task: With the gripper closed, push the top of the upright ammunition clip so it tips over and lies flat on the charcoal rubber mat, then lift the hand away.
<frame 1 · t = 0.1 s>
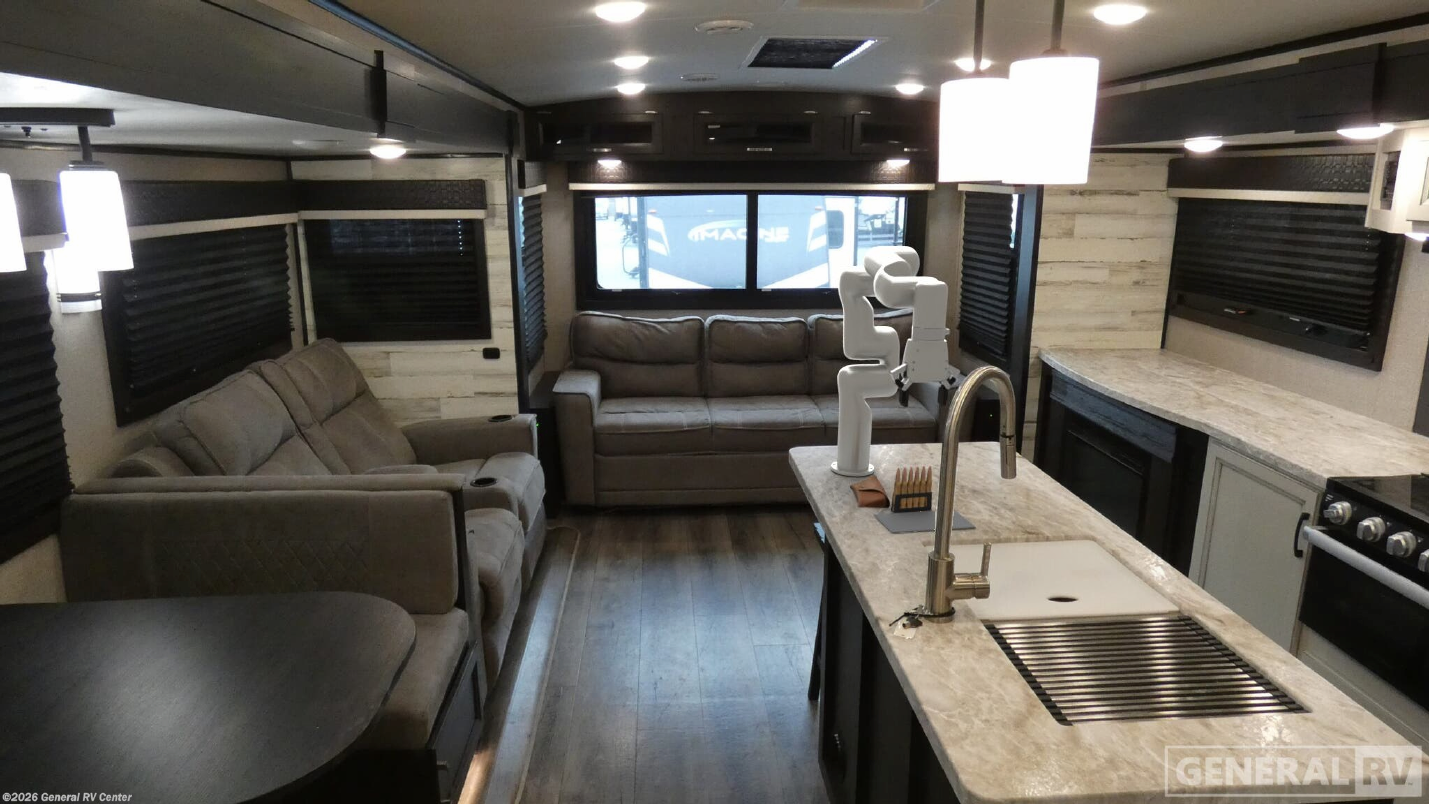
hand: (922, 405, 213), 31 cm above the table, tool pointing down, fingers open, 9 cm apart
ammunition clip: (911, 511, 232), on the table
sunglasses case: (868, 498, 242), on the table
rubber mat: (923, 522, 224), on the table
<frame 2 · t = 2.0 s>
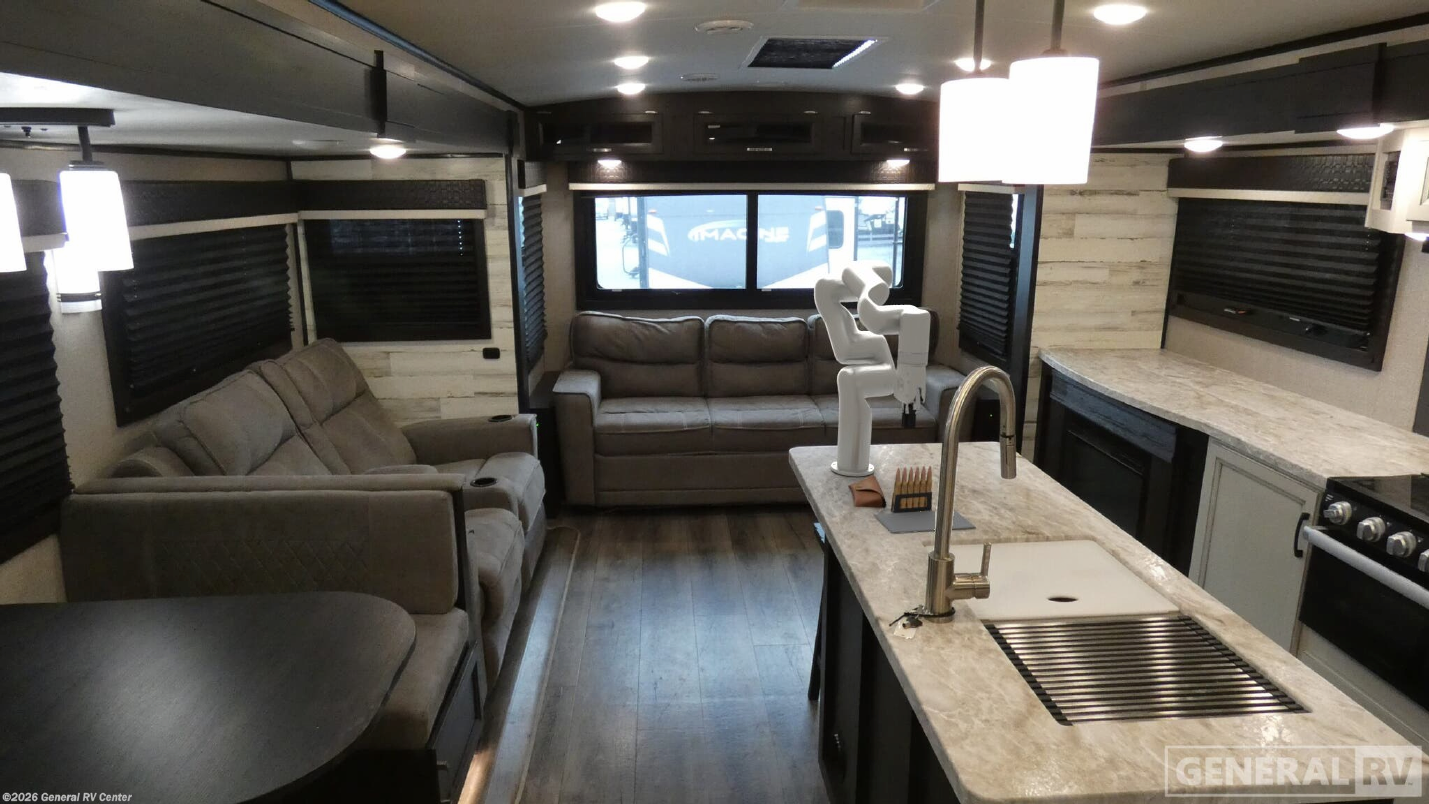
hand: (908, 427, 232), 21 cm above the table, tool pointing down, fingers closed
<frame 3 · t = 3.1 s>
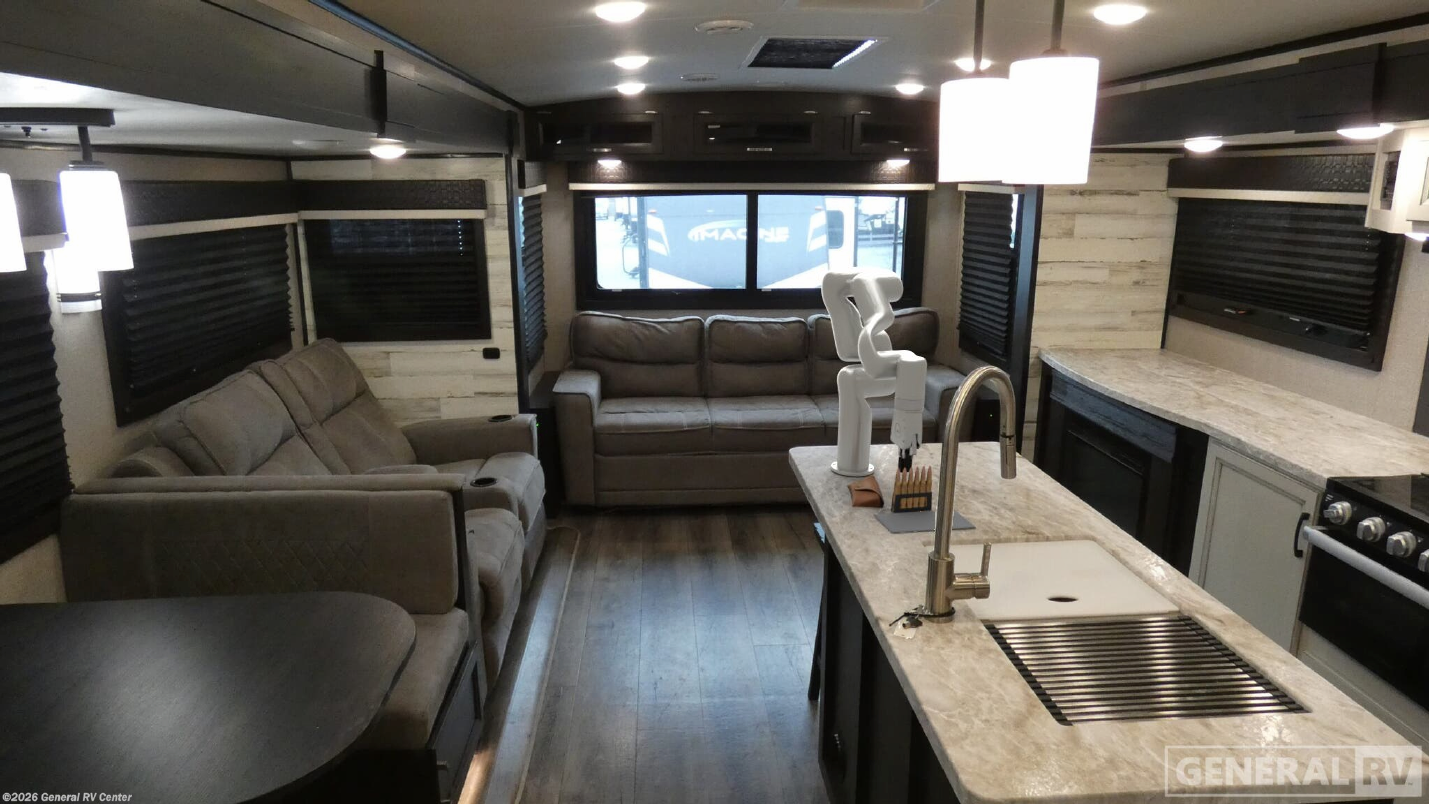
hand: (904, 471, 236), 9 cm above the table, tool pointing down, fingers closed
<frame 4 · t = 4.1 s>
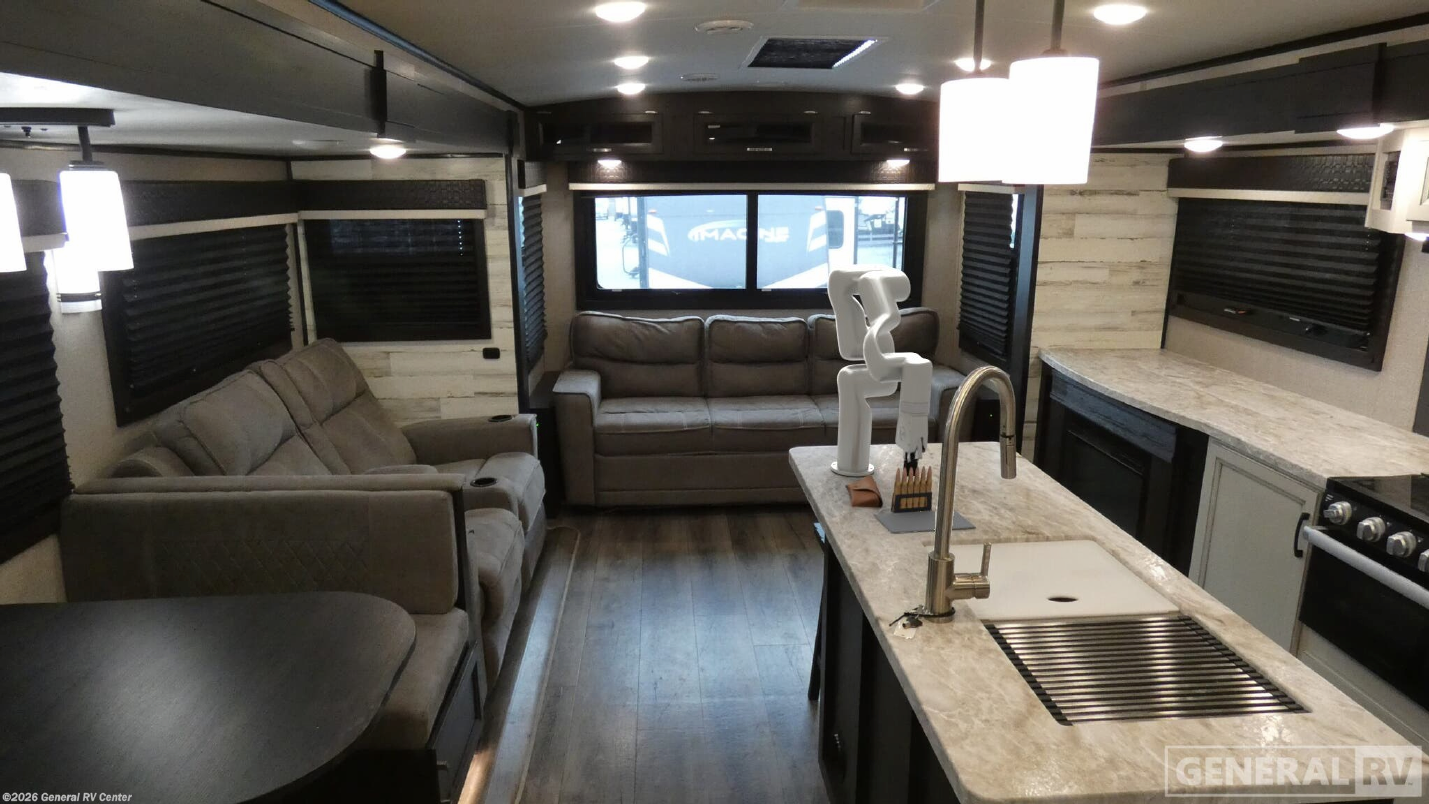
hand: (909, 475, 232), 9 cm above the table, tool pointing down, fingers closed
ammunition clip: (911, 511, 232), on the table, touching gripper
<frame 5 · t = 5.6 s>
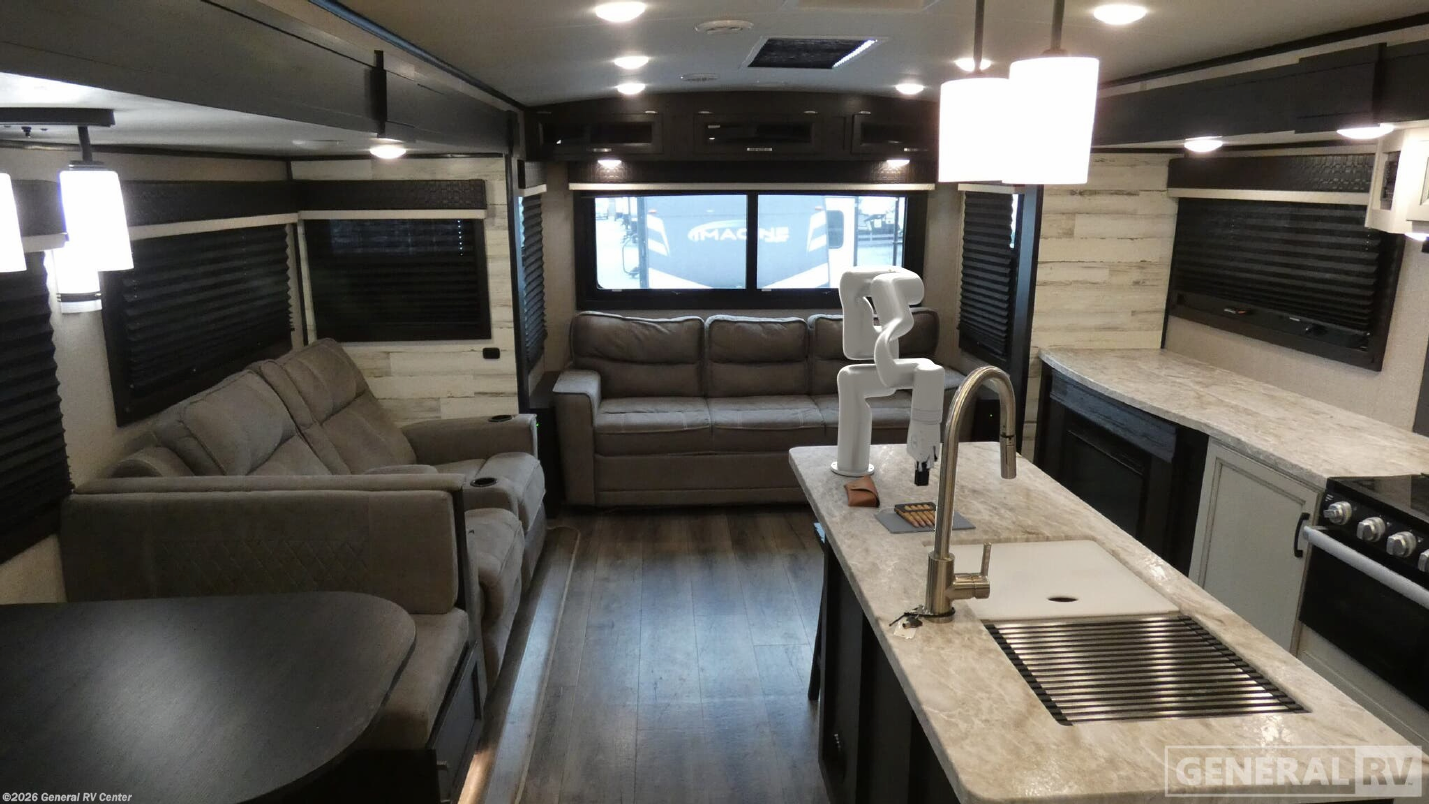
hand: (921, 484, 225), 9 cm above the table, tool pointing down, fingers closed
ammunition clip: (913, 506, 231), point 2 cm above the table, touching rubber mat
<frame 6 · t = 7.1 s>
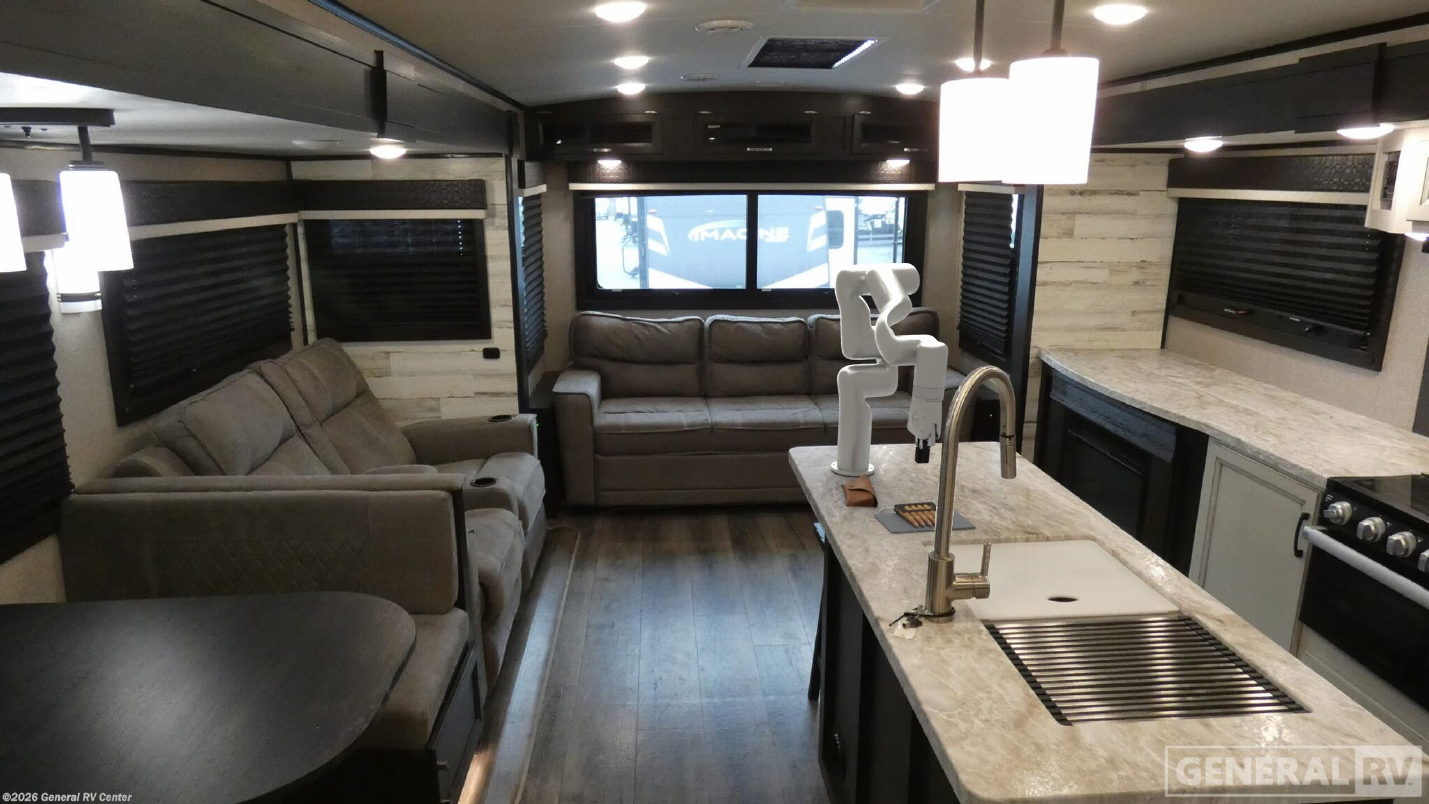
hand: (921, 462, 225), 14 cm above the table, tool pointing down, fingers closed
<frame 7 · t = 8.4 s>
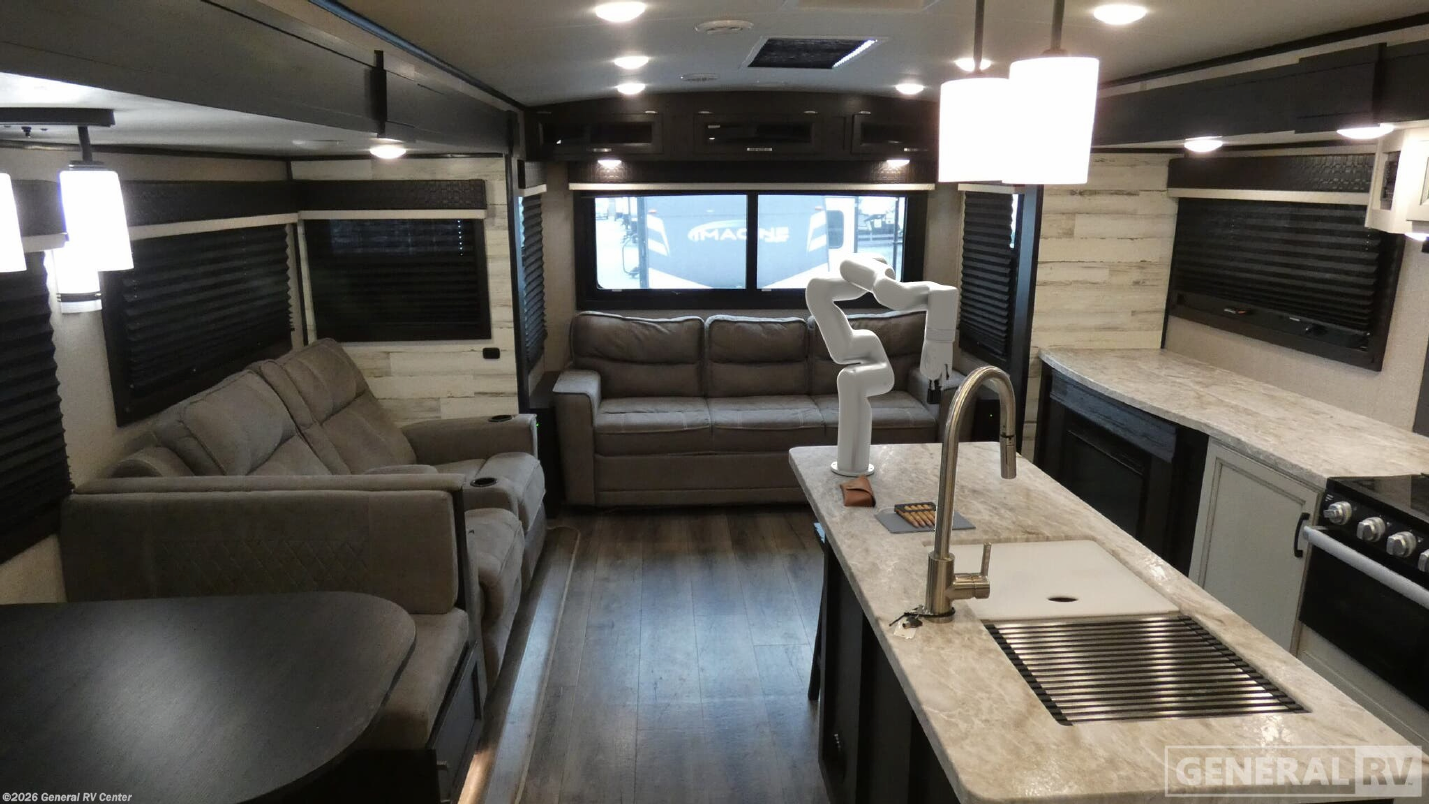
hand: (933, 403, 234), 27 cm above the table, tool pointing down, fingers closed
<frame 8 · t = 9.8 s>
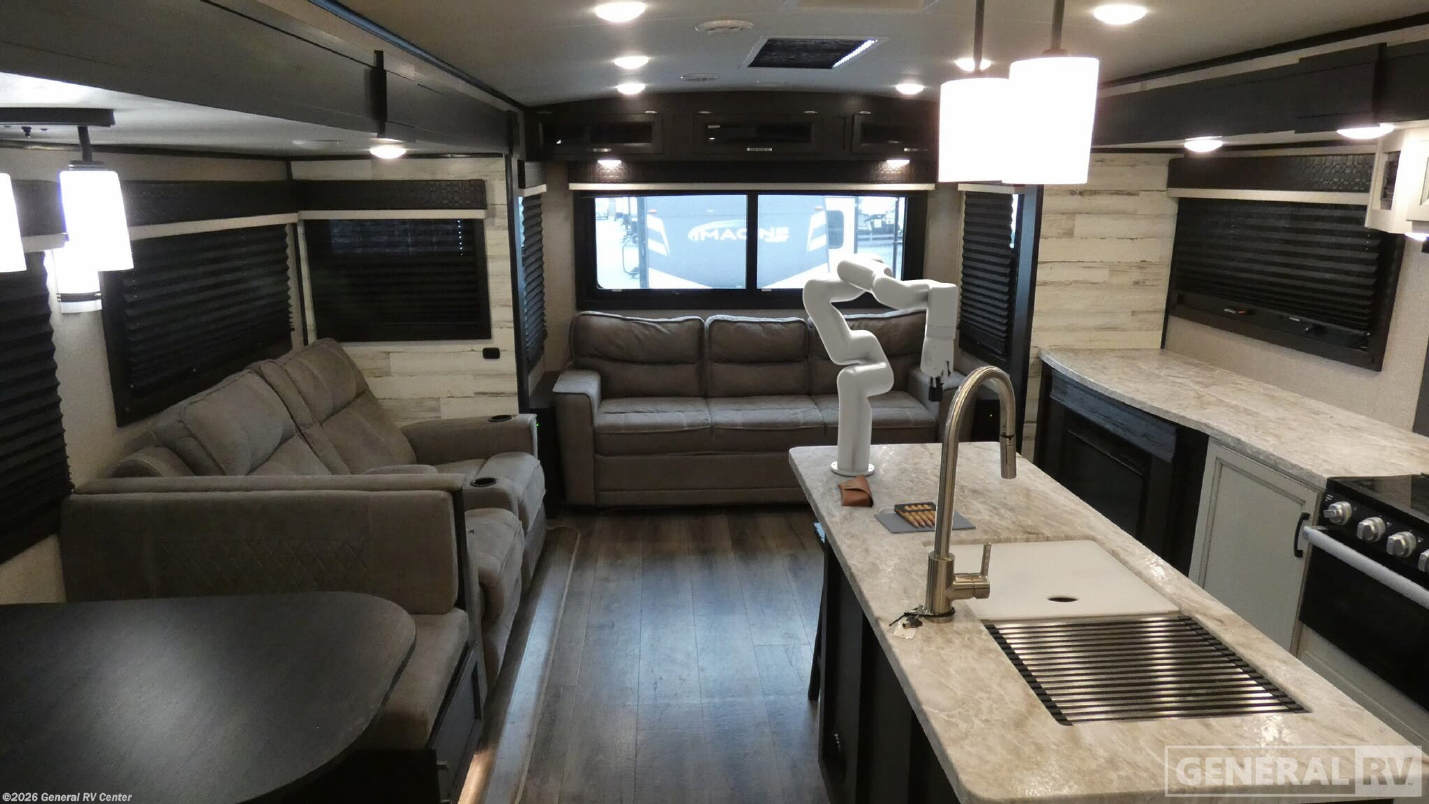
hand: (934, 400, 235), 27 cm above the table, tool pointing down, fingers closed
at the end: ammunition clip tilted 93°; ammunition clip touching rubber mat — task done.
